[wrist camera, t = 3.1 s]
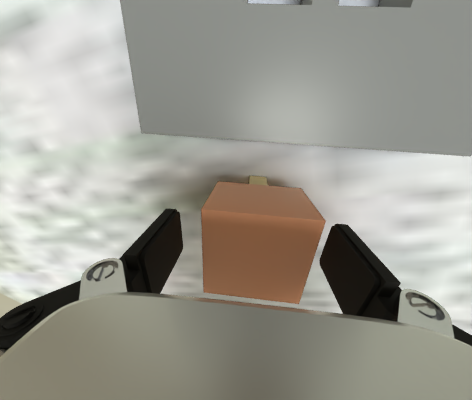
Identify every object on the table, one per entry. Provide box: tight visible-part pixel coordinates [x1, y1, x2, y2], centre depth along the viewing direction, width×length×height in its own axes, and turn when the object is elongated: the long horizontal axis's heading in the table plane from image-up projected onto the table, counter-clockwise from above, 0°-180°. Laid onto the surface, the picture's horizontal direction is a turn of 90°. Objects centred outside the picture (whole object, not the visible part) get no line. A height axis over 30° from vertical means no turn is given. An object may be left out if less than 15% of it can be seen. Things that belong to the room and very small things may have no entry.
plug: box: [201, 176, 326, 304], centre depth 13 cm, size 6×6×7 cm
